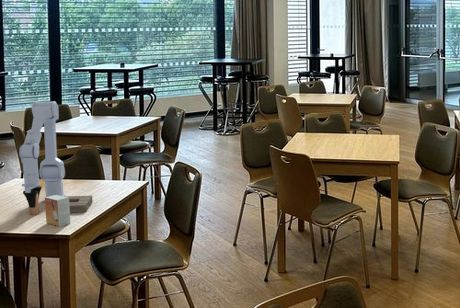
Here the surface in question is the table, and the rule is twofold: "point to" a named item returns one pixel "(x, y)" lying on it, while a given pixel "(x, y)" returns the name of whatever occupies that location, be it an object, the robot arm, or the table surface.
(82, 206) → the socket block
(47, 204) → the small box
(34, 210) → the peg
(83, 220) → the table surface
